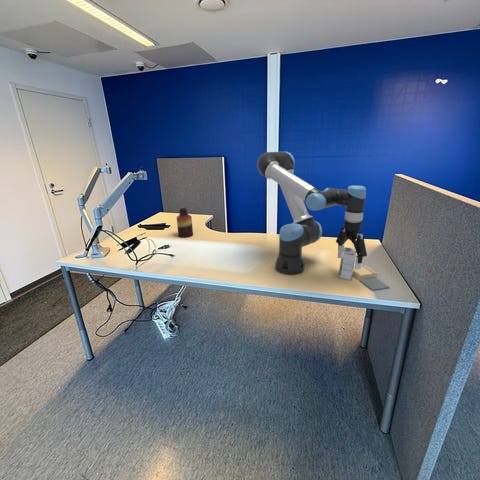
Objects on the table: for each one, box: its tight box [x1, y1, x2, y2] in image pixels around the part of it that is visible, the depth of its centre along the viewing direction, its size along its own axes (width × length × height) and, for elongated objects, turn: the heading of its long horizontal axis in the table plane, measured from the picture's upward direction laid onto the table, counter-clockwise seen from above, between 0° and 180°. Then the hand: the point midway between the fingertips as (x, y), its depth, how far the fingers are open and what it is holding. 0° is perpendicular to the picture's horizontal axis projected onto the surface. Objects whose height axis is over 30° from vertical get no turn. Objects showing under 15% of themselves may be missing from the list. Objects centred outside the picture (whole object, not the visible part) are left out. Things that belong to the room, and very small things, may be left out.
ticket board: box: [352, 264, 378, 281], centre depth 128 cm, size 10×9×2 cm
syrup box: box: [338, 246, 357, 281], centre depth 124 cm, size 6×6×14 cm
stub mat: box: [358, 277, 390, 292], centre depth 119 cm, size 9×9×1 cm
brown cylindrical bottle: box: [176, 207, 194, 239], centre depth 188 cm, size 11×11×20 cm
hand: (348, 262), depth 123 cm, fingers open, 13 cm apart
